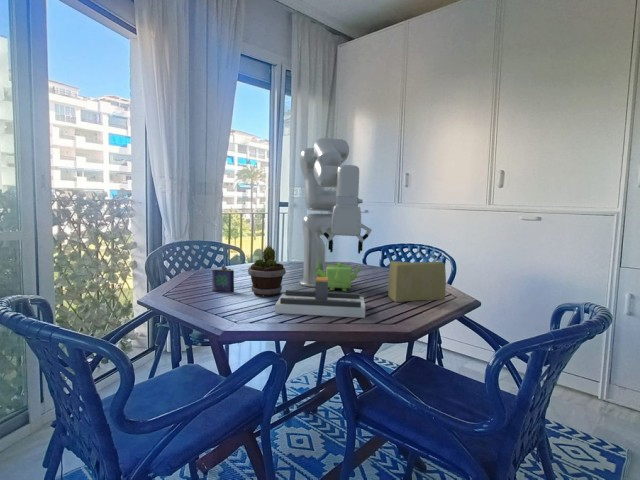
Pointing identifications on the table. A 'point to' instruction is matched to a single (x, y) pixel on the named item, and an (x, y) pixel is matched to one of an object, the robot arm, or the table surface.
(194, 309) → the table surface
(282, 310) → the breaker panel
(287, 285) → the table surface
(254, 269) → the flowerpot
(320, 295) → the block
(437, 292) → the cheese
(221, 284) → the flask
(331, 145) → the robot arm
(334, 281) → the kettle
